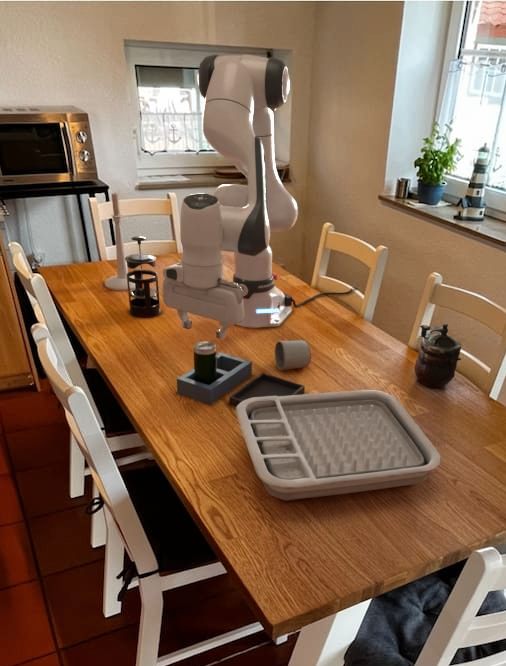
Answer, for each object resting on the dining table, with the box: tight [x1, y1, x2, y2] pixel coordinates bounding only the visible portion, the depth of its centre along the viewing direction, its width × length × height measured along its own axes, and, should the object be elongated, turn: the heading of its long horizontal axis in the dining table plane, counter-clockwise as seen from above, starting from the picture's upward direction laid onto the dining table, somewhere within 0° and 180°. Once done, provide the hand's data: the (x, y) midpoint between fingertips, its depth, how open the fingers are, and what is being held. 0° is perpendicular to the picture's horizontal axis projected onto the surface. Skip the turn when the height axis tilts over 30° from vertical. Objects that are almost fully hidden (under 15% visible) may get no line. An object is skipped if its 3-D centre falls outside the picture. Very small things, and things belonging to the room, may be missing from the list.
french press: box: [125, 235, 162, 319], centre depth 177 cm, size 12×9×23 cm
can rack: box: [176, 351, 253, 405], centre depth 146 cm, size 18×10×4 cm, turn 153°
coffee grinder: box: [414, 322, 462, 389], centre depth 151 cm, size 13×15×18 cm
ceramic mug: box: [274, 339, 312, 371], centre depth 157 cm, size 11×8×8 cm
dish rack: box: [235, 389, 442, 501], centre depth 121 cm, size 32×37×8 cm
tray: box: [228, 372, 306, 408], centre depth 142 cm, size 15×12×2 cm
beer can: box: [192, 340, 218, 385], centre depth 141 cm, size 5×5×12 cm
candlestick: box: [104, 192, 136, 292], centre depth 194 cm, size 13×13×30 cm
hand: (204, 333), depth 136 cm, fingers open, 8 cm apart
